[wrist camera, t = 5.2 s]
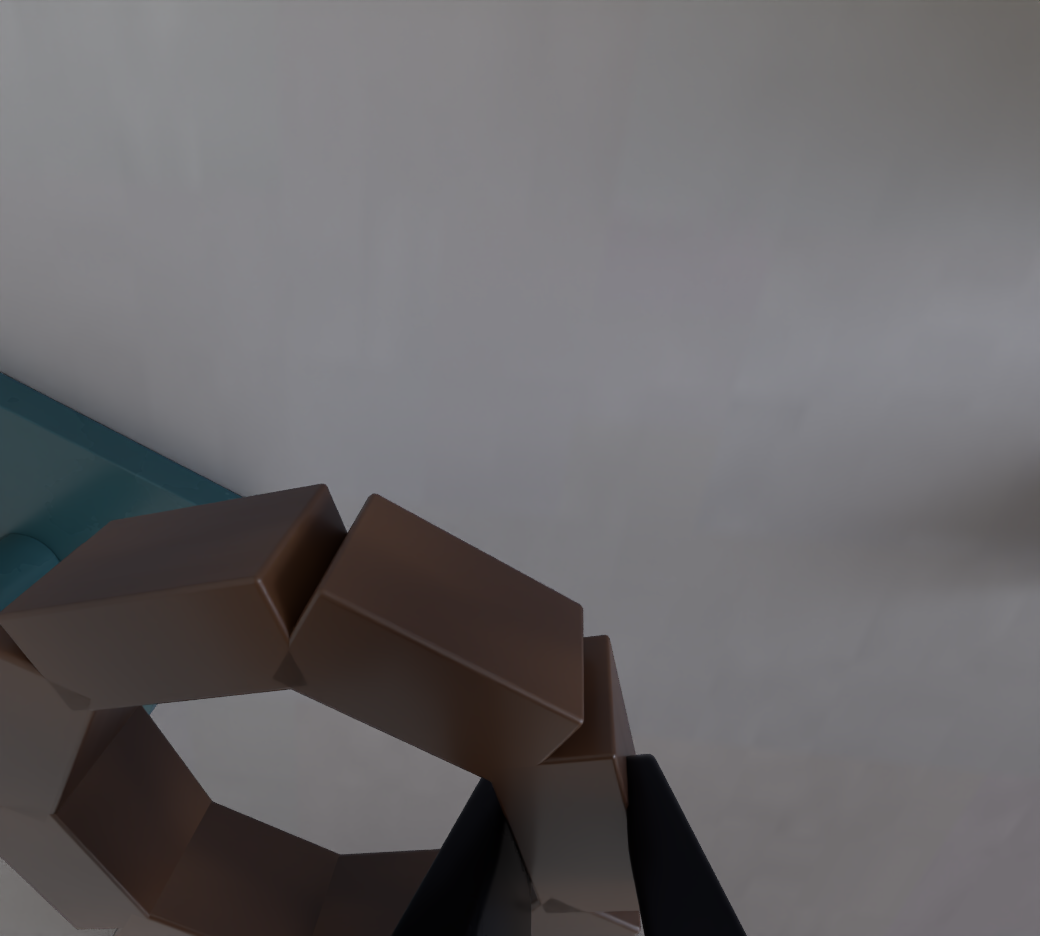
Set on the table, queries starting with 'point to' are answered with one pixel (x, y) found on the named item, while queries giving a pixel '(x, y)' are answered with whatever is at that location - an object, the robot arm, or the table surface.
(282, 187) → the table surface
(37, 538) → the post stand
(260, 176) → the table surface
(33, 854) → the ring
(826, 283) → the table surface
